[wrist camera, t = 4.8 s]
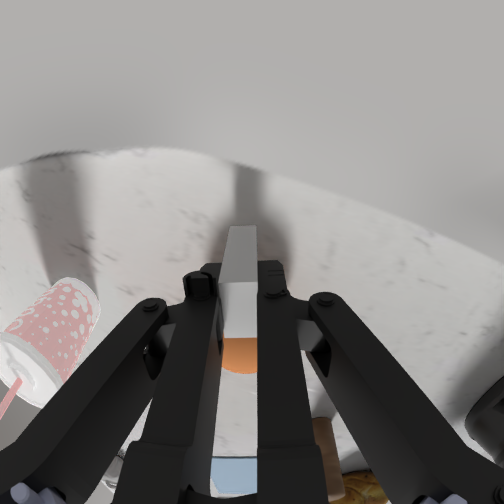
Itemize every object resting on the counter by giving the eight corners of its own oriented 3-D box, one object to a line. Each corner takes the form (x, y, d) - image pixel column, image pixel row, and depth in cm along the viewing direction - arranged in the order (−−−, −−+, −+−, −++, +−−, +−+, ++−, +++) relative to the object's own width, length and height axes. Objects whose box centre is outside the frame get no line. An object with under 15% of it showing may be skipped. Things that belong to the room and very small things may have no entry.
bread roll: (404, 459, 34) (416, 499, 27) (377, 484, 38) (386, 519, 31) (328, 469, 34) (336, 516, 26) (309, 491, 38) (313, 531, 30)
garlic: (140, 466, 34) (133, 494, 29) (115, 466, 35) (108, 492, 30) (113, 446, 32) (103, 476, 27) (88, 446, 33) (79, 474, 28)
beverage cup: (94, 265, 20) (-17, 411, 8) (118, 332, 23) (51, 479, 10) (37, 270, 21) (-68, 385, 8) (63, 331, 23) (-11, 451, 10)
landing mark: (317, 452, 31) (317, 453, 31) (307, 488, 37) (307, 489, 36) (202, 456, 31) (202, 457, 31) (218, 492, 37) (218, 493, 37)
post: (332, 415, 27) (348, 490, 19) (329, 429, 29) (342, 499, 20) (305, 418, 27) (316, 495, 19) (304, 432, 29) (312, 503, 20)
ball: (284, 269, 20) (294, 319, 15) (284, 334, 23) (292, 388, 18) (202, 274, 20) (187, 324, 15) (212, 337, 23) (203, 391, 18)
